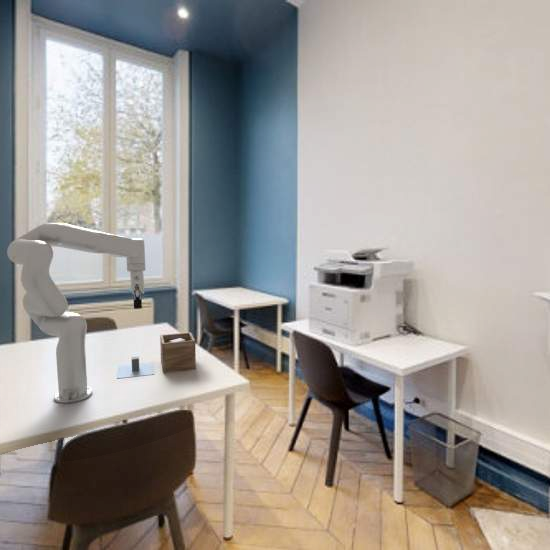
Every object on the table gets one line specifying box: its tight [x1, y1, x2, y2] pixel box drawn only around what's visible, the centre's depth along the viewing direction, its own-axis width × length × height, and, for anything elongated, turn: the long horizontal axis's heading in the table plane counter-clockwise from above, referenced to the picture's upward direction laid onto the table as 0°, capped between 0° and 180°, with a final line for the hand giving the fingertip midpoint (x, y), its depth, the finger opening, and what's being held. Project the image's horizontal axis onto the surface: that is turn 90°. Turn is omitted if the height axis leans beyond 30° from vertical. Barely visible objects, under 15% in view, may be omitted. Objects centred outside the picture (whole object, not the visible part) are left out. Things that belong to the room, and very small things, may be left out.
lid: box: [116, 355, 155, 380], centre depth 171 cm, size 15×15×6 cm
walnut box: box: [159, 332, 197, 374], centre depth 177 cm, size 14×14×13 cm
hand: (137, 306), depth 171 cm, fingers open, 9 cm apart
